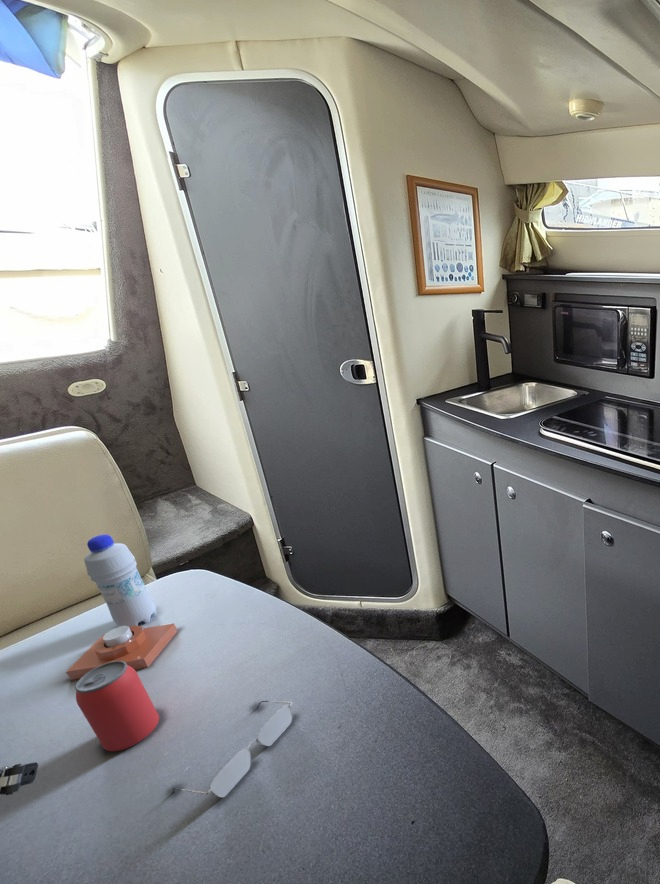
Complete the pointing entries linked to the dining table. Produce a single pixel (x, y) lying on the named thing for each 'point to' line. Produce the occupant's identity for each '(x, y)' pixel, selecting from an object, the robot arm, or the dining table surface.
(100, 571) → the bottle
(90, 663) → the orange button base
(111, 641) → the white push button
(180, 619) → the dining table surface
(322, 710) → the dining table surface
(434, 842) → the dining table surface
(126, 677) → the beer can
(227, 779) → the eyeglasses
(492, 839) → the dining table surface
